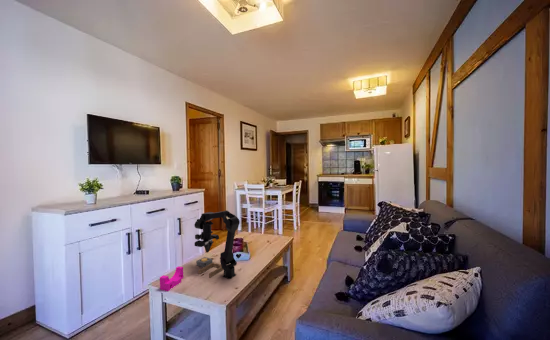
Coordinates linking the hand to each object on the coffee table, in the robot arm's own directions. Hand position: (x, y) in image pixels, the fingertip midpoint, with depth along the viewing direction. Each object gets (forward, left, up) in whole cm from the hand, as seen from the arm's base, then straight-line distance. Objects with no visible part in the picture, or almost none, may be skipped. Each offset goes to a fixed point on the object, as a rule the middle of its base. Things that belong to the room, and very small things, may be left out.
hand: (207, 252), depth 157 cm
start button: (+7, -3, -11) cm, 13 cm away
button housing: (+7, -3, -11) cm, 14 cm away
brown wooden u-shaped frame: (-6, +6, -11) cm, 14 cm away
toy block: (+3, +25, -12) cm, 28 cm away
